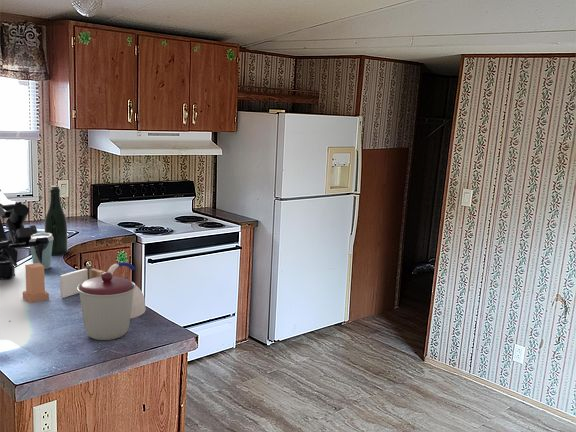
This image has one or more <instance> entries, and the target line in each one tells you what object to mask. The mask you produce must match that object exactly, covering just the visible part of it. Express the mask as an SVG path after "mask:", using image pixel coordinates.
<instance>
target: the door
mask: <svg viewBox="0 0 576 432" xmlns="http://www.w3.org/2000/svg"><path fill="white" fill-rule="evenodd" d="M86 280H88V269H87V268H82V269H79V270H75V271H70V272H67V273H64V274H60V275H59V286H60V287H59V288H60V298H68V297H70V296H73V295H76V294H80V293H79V292H78V290H77V287H78V285H79V284H81V283H83V282H84V281H86Z"/></svg>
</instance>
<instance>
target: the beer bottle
mask: <svg viewBox="0 0 576 432" xmlns="http://www.w3.org/2000/svg"><path fill="white" fill-rule="evenodd" d="M49 192H50V197H49V198H50V200H49V207H48V210H47V213H46V215H45V218H44V233H51V234H52V236H53V239H54V240H53V245H52V254H51V256H60V255H61V256H62V255H64V254H67V253H68V251H69V245H68V243H69V241H68V223H67V217H66V215H65V212H64V209H63V207H62V203H61V202H62V201H61V190H60V186H59V185H51V187H50V190H49Z"/></svg>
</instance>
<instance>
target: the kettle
mask: <svg viewBox="0 0 576 432" xmlns="http://www.w3.org/2000/svg"><path fill="white" fill-rule="evenodd" d="M119 267H127V268H129V270H131V271H134V270H136V267H135V266H134V265H132V264H131V263H129V262H125V261H124V262H123V261H121V262H116V263H114V264H112V265H111V266H110V267H109V268H108V270H107V272H110V273H111V274H112V275H113V276H114V273H115V271H116V269H118V268H119ZM125 278H126V279H128V280H129V278H128V277H125ZM145 300H146V299H145V295H144V294H143V292H142V290H141V289H140V288H139V286H137V285H136V288H135V289H134V292H133V301H132V309H131V317H130V320H131V319H134V318H138V317H140V316H141V315H143V314H145V312H146V311H147V308H146V301H145Z"/></svg>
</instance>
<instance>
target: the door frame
mask: <svg viewBox="0 0 576 432" xmlns="http://www.w3.org/2000/svg"><path fill="white" fill-rule="evenodd" d="M85 269H88V279H91V278H96V277H101V275H102V274H103V273H104V272H105V271H104V270H101V269H97V268H94V267H93V268H92V267H91V264H89V265H86V267H85Z"/></svg>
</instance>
